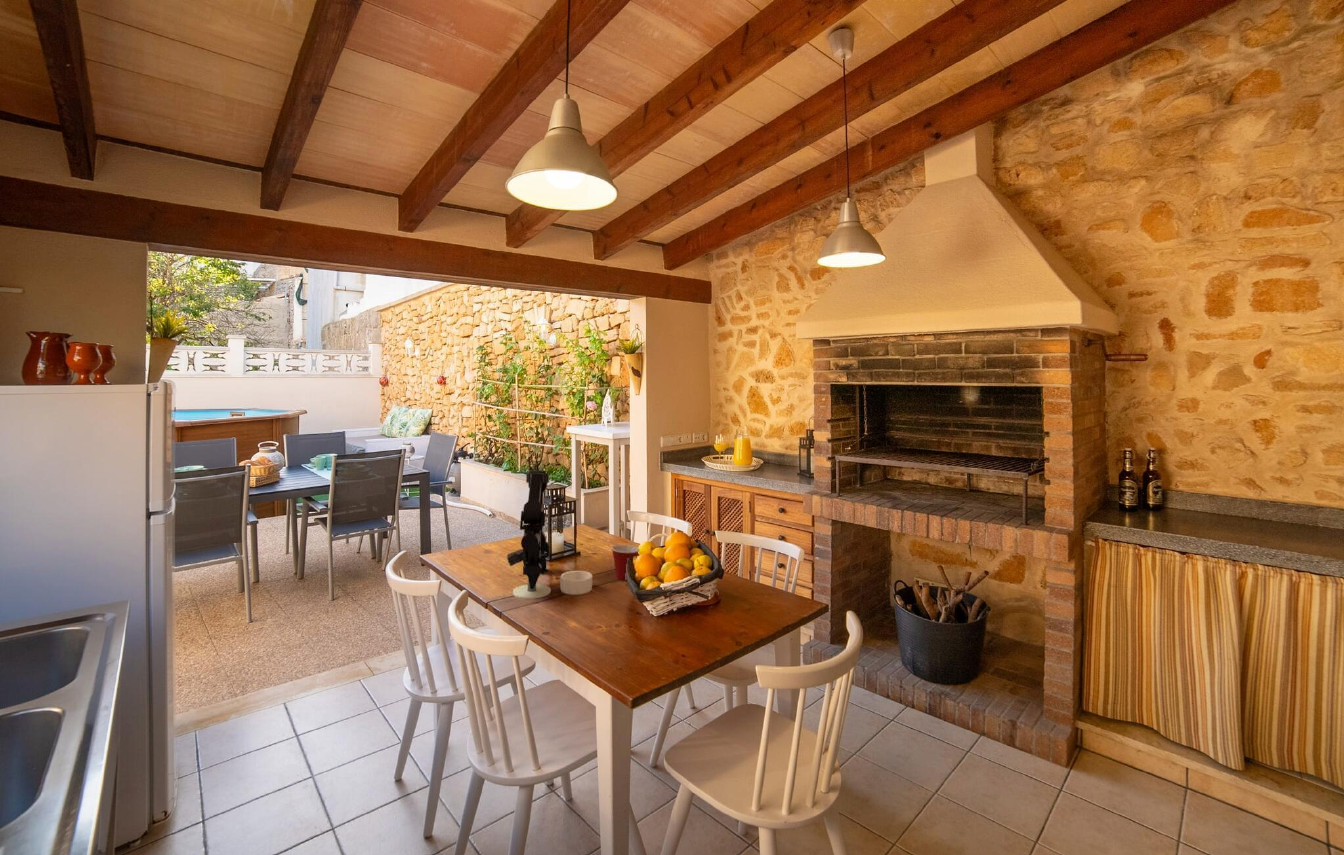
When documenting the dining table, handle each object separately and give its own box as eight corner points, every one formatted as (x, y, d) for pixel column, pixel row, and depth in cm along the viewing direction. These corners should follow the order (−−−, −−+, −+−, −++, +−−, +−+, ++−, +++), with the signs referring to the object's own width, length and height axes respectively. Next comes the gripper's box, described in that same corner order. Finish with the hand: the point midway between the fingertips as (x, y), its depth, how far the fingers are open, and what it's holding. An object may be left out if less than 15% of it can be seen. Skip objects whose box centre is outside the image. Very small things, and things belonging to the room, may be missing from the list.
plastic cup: (644, 579, 227) (645, 548, 226) (621, 585, 219) (622, 553, 218) (627, 571, 235) (628, 541, 234) (604, 577, 227) (605, 546, 226)
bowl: (554, 590, 212) (554, 576, 211) (574, 582, 221) (574, 568, 221) (578, 597, 206) (578, 583, 206) (597, 588, 215) (598, 574, 215)
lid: (504, 594, 208) (504, 582, 207) (531, 584, 219) (531, 572, 218) (532, 602, 201) (532, 589, 201) (558, 591, 212) (558, 579, 212)
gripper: (509, 536, 216) (509, 578, 217) (507, 551, 198) (507, 597, 199) (540, 535, 218) (540, 577, 219) (541, 550, 200) (541, 595, 201)
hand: (531, 586), depth 210 cm, fingers open, 5 cm apart
